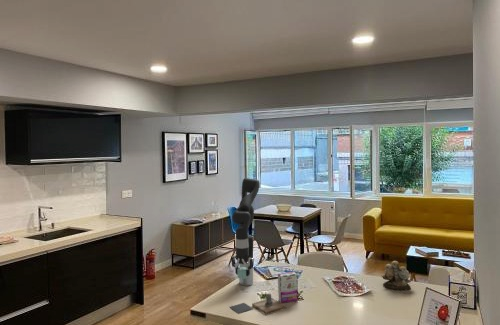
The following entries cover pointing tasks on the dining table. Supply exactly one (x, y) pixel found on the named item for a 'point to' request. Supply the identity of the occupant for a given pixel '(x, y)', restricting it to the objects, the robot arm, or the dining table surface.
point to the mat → (241, 308)
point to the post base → (268, 305)
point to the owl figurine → (396, 277)
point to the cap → (241, 273)
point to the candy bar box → (288, 287)
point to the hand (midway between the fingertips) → (242, 274)
